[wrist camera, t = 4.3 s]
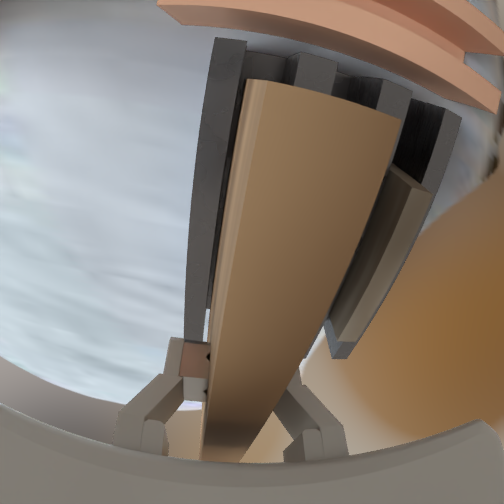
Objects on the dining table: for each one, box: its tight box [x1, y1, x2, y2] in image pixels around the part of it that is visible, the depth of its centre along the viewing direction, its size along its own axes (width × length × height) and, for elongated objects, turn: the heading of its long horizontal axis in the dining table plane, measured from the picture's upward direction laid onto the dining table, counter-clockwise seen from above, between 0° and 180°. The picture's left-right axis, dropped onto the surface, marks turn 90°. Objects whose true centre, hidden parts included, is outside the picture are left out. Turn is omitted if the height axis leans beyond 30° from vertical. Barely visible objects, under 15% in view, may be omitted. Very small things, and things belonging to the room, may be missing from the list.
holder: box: [157, 0, 504, 114], centre depth 11 cm, size 21×7×6 cm, turn 80°
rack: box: [184, 37, 462, 359], centre depth 20 cm, size 15×22×6 cm
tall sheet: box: [199, 79, 402, 463], centre depth 14 cm, size 2×18×16 cm, turn 169°
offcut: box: [329, 163, 433, 342], centre depth 19 cm, size 2×12×7 cm, turn 169°
